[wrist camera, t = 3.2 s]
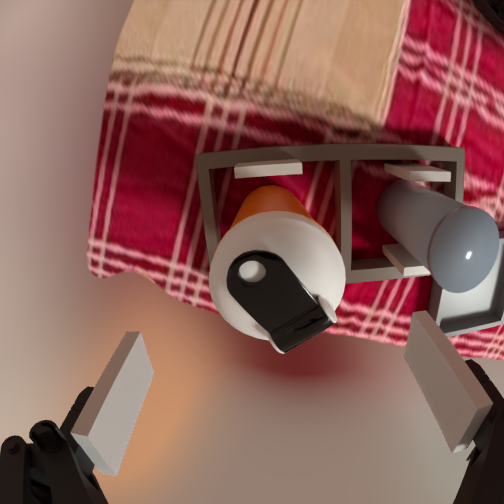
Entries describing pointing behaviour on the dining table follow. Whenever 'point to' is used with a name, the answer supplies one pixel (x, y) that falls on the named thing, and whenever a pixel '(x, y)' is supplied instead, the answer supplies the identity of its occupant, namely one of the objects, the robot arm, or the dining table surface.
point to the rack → (337, 191)
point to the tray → (471, 302)
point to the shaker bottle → (277, 271)
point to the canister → (440, 233)
